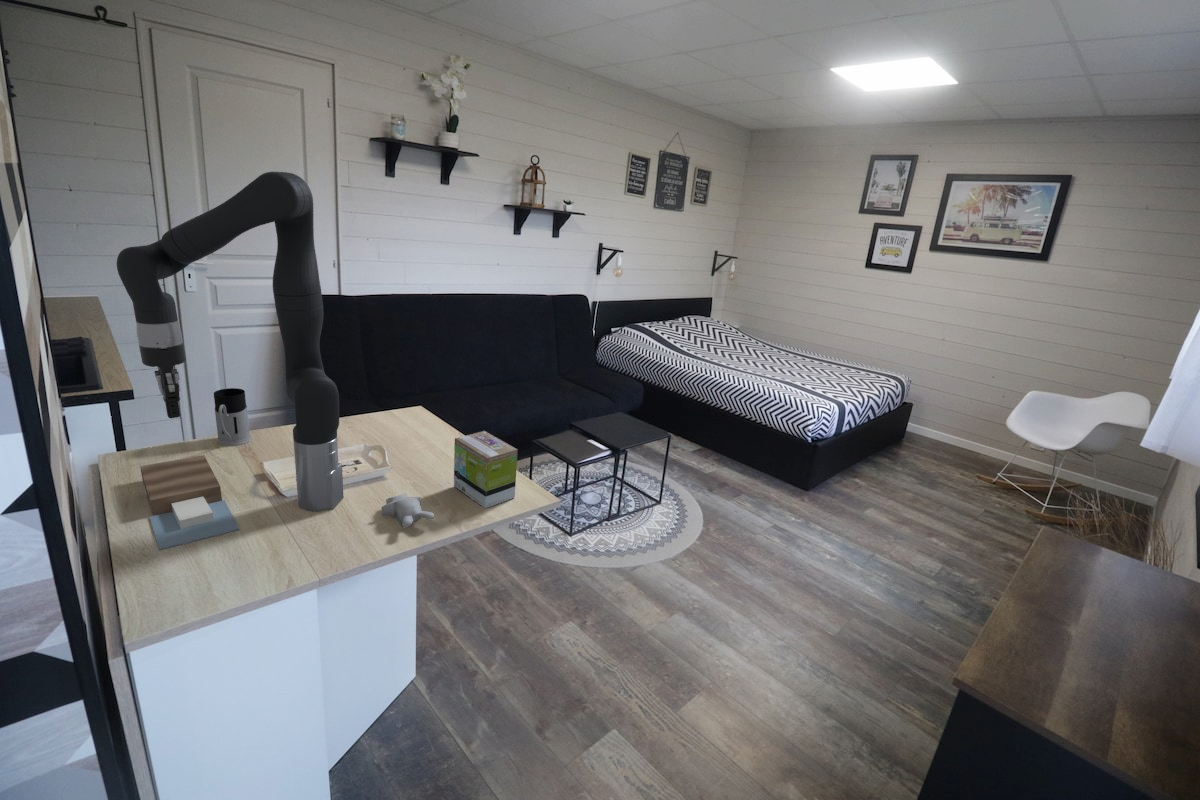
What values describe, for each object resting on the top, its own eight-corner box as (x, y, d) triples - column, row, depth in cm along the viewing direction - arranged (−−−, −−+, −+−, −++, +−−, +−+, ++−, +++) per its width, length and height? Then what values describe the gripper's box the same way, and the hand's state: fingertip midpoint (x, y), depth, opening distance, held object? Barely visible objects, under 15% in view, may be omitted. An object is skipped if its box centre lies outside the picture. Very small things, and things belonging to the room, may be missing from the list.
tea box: (452, 487, 150) (453, 436, 145) (483, 477, 157) (484, 429, 153) (484, 509, 141) (487, 456, 136) (516, 498, 148) (519, 447, 143)
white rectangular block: (172, 511, 125) (171, 503, 125) (204, 503, 129) (203, 496, 129) (180, 528, 119) (179, 520, 119) (213, 520, 124) (212, 512, 123)
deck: (142, 480, 137) (140, 466, 136) (206, 469, 146) (204, 455, 144) (152, 516, 123) (150, 500, 122) (222, 500, 132) (220, 485, 131)
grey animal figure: (411, 486, 140) (439, 505, 129) (412, 505, 141) (440, 525, 131) (374, 496, 134) (399, 516, 123) (375, 515, 135) (401, 537, 124)
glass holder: (255, 434, 169) (250, 387, 164) (242, 453, 156) (237, 403, 151) (221, 435, 166) (216, 387, 161) (206, 454, 153) (199, 403, 148)
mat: (150, 517, 123) (149, 516, 123) (224, 501, 132) (224, 500, 132) (159, 550, 112) (158, 548, 112) (239, 529, 122) (239, 528, 122)
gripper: (135, 336, 121) (149, 410, 126) (141, 350, 112) (156, 429, 117) (178, 333, 126) (189, 405, 131) (187, 347, 117) (199, 423, 122)
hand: (174, 416), depth 124 cm, fingers closed
